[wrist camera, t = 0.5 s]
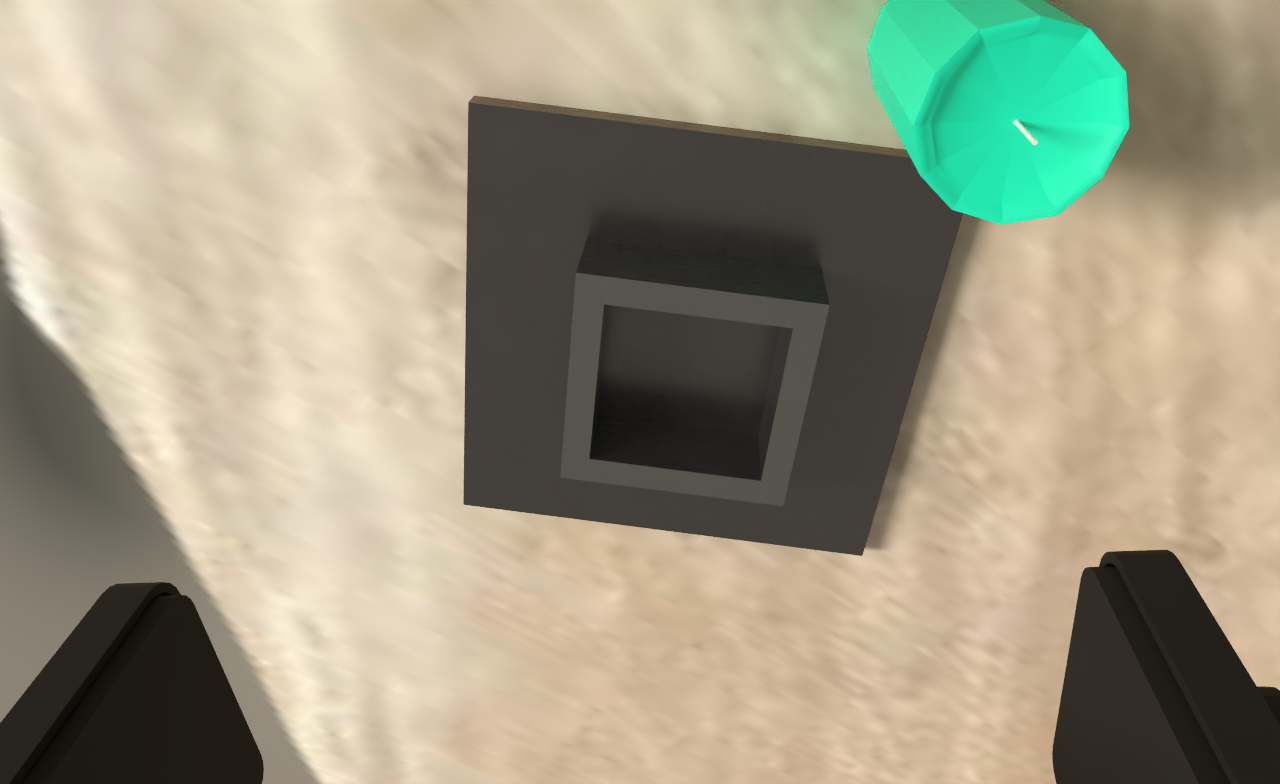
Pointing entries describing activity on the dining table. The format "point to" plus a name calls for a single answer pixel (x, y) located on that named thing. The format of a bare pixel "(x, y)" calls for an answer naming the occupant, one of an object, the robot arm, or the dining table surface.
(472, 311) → the socket holder
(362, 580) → the dining table surface
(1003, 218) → the candle
